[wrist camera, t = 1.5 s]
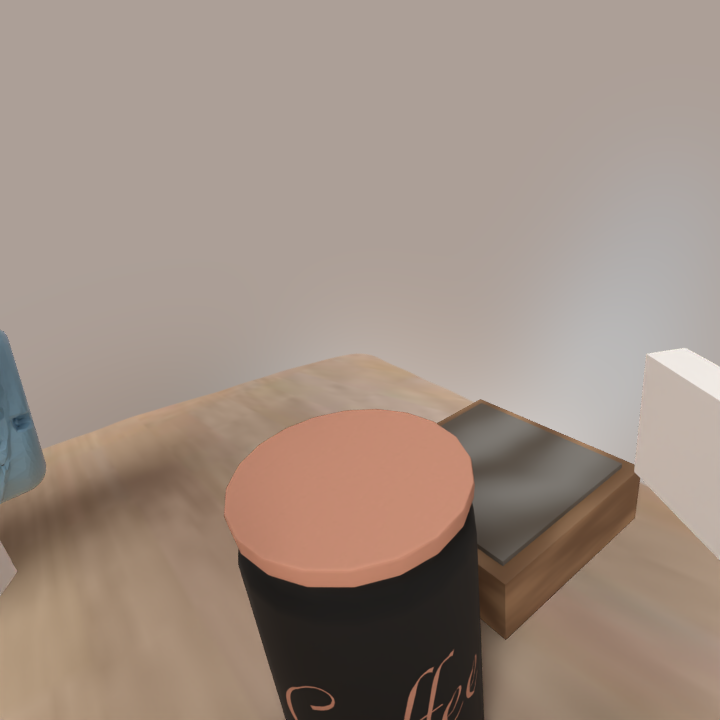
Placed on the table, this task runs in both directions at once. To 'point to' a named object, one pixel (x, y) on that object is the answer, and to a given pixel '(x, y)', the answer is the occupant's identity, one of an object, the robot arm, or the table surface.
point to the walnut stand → (536, 508)
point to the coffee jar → (363, 567)
